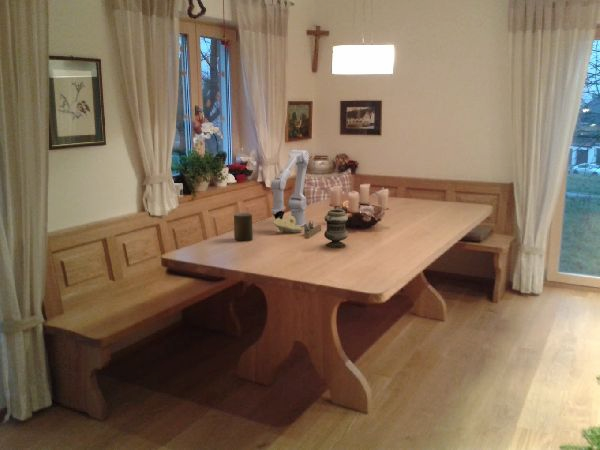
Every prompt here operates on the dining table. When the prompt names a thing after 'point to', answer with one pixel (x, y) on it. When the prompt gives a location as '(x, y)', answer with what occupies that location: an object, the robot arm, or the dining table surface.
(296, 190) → the robot arm
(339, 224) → the apothecary jar
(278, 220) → the cheese
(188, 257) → the dining table surface
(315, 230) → the brown piece
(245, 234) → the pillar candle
